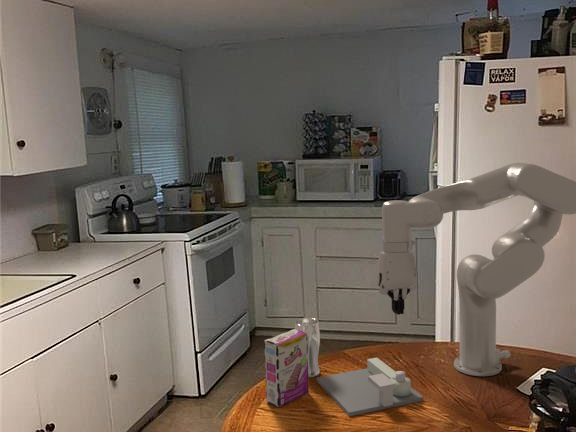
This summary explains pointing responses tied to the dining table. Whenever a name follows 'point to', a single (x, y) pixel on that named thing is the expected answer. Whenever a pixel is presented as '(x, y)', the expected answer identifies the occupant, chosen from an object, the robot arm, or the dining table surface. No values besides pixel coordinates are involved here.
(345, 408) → the board
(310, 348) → the beer glass
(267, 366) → the candy bar box
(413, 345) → the dining table surface
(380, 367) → the link
